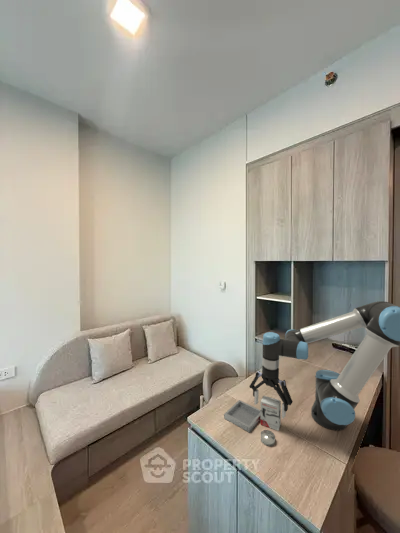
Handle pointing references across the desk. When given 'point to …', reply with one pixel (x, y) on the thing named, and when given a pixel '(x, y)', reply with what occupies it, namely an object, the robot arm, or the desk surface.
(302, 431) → the desk surface
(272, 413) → the ink box
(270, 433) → the shiny grey rounded piece
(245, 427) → the square metal tray
